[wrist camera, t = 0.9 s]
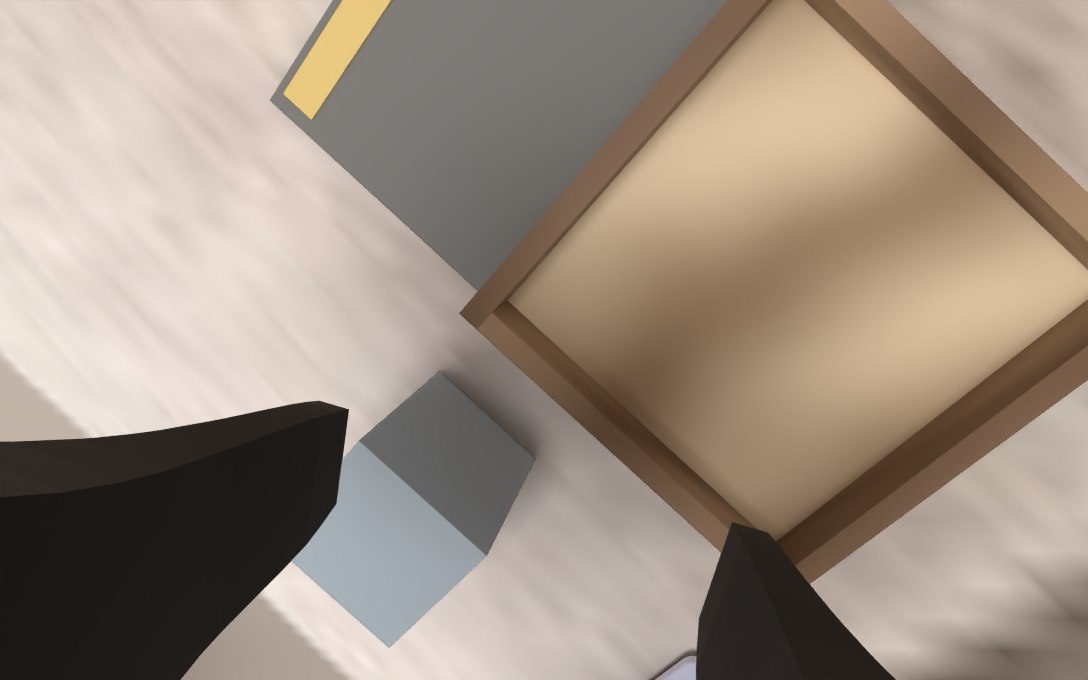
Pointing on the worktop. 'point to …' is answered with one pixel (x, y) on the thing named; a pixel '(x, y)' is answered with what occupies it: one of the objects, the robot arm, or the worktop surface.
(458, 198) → the plate
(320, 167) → the worktop surface
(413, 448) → the block
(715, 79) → the shallow wooden tray
